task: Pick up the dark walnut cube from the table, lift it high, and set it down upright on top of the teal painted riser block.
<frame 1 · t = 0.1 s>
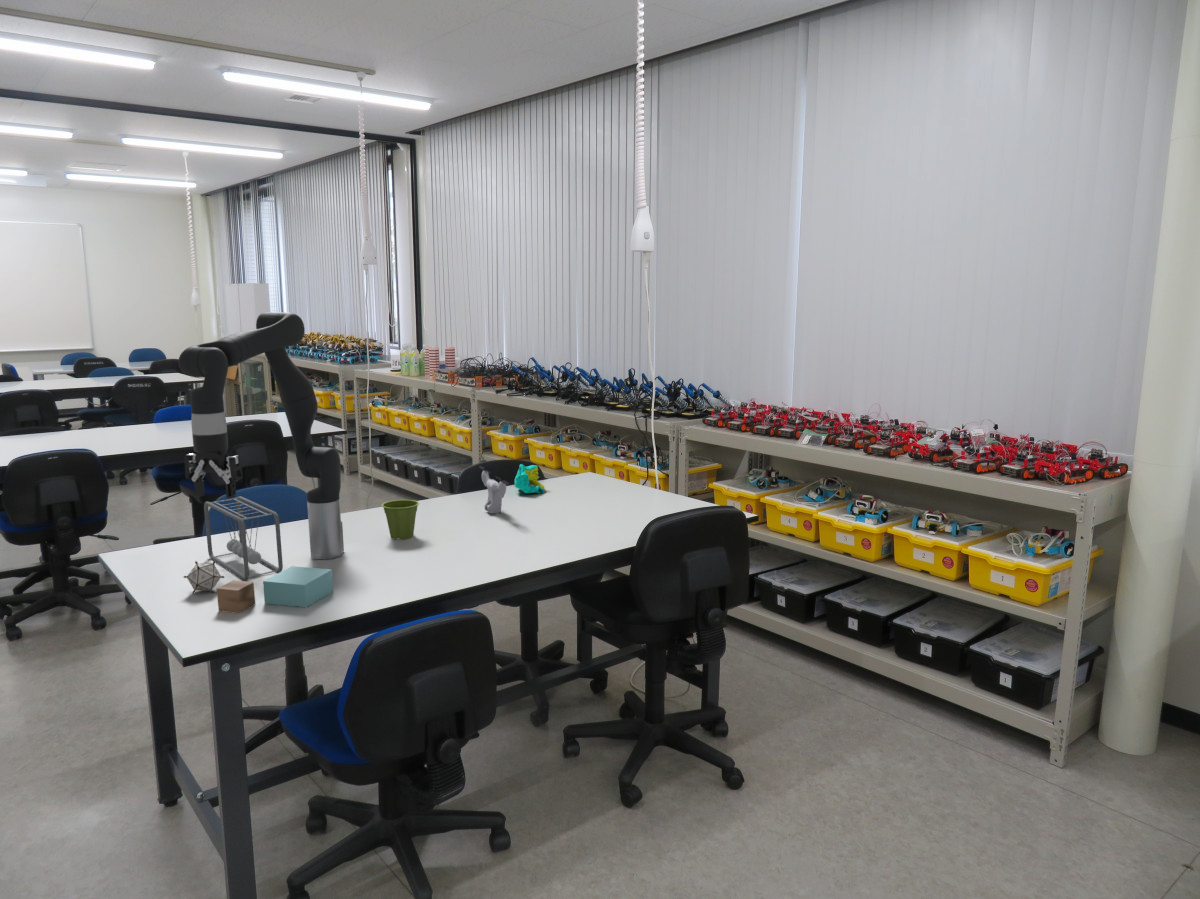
hand: (215, 497, 193), 29 cm above the table, tool pointing down, fingers open, 8 cm apart
figurine: (493, 513, 290), on the table
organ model: (526, 492, 322), on the table
walnut cube: (237, 608, 199), on the table
riser: (299, 597, 206), on the table
plant pot: (402, 537, 260), on the table
game die: (205, 592, 211), on the table
newton's cradle: (245, 566, 232), on the table
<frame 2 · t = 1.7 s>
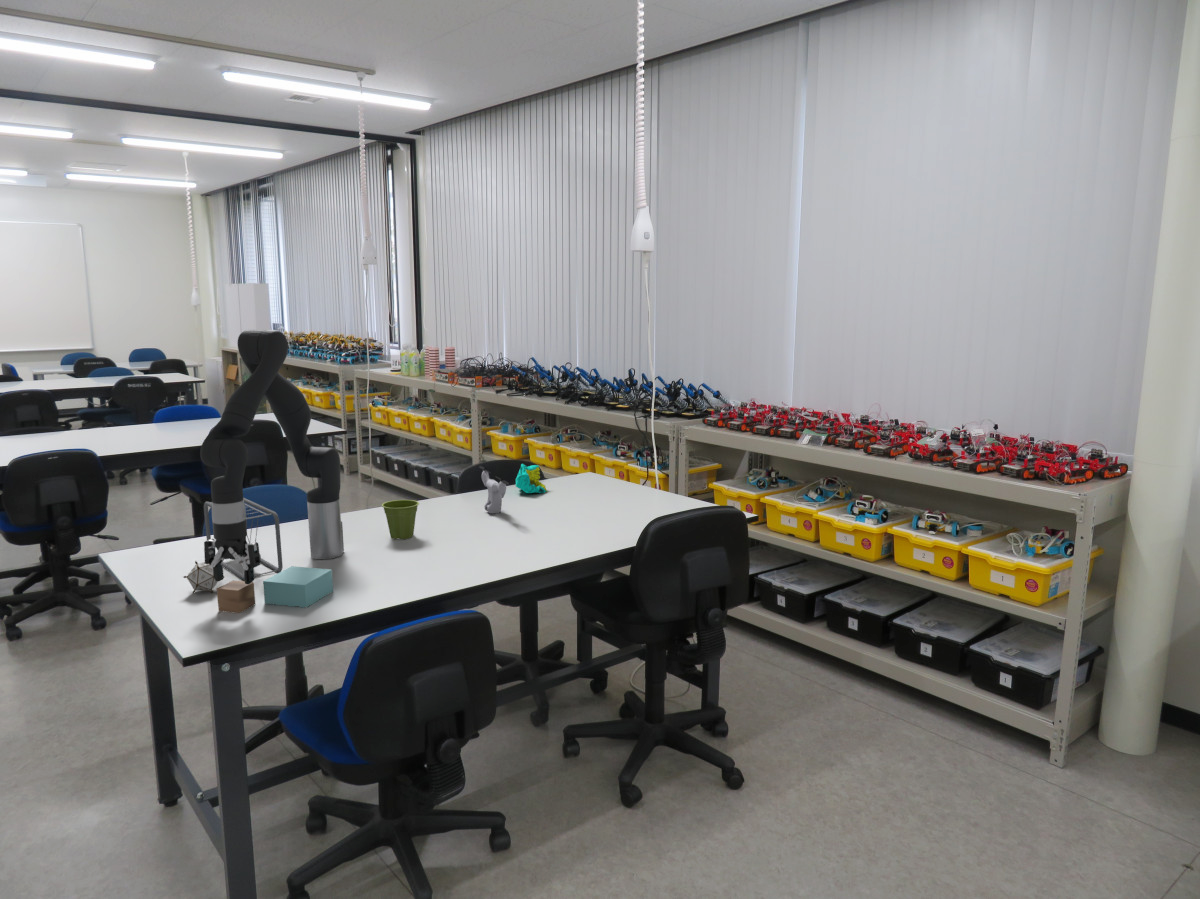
hand: (234, 581, 198), 7 cm above the table, tool pointing down, fingers open, 8 cm apart
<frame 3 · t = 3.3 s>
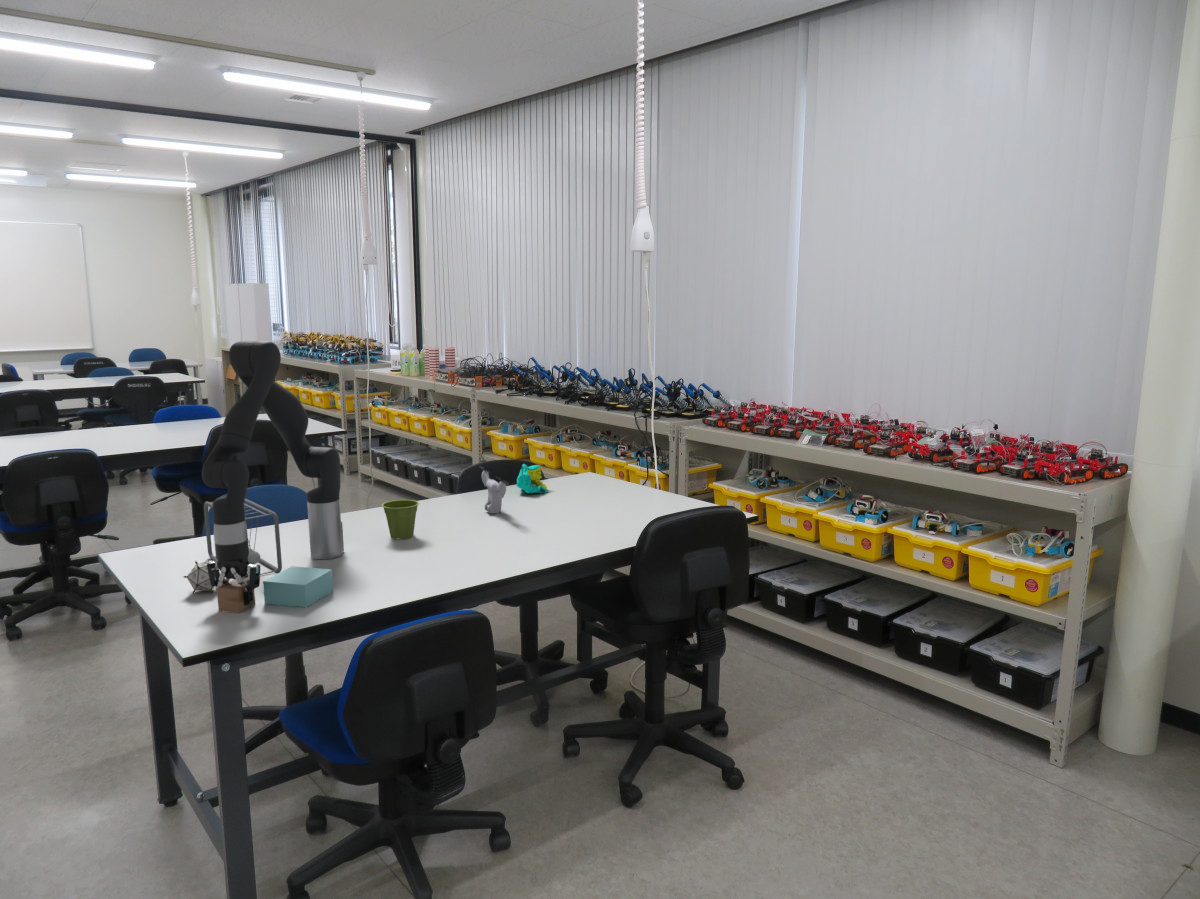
hand: (236, 603, 199), 1 cm above the table, tool pointing down, fingers closed on walnut cube, 6 cm apart
walnut cube: (237, 607, 199), on the table, touching gripper
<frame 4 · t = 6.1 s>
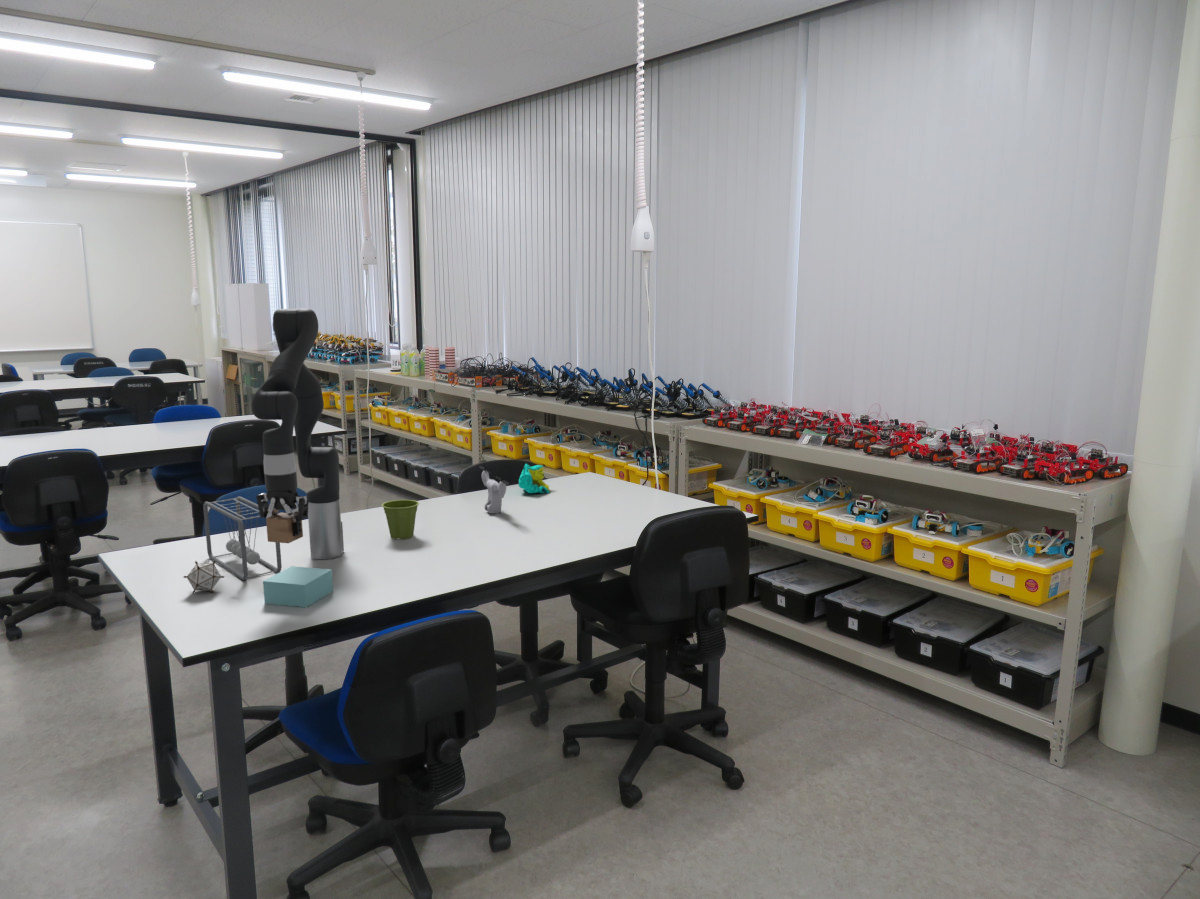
hand: (285, 534, 203), 17 cm above the table, tool pointing down, fingers closed on walnut cube, 6 cm apart
walnut cube: (285, 538, 203), point 16 cm above the table, touching gripper
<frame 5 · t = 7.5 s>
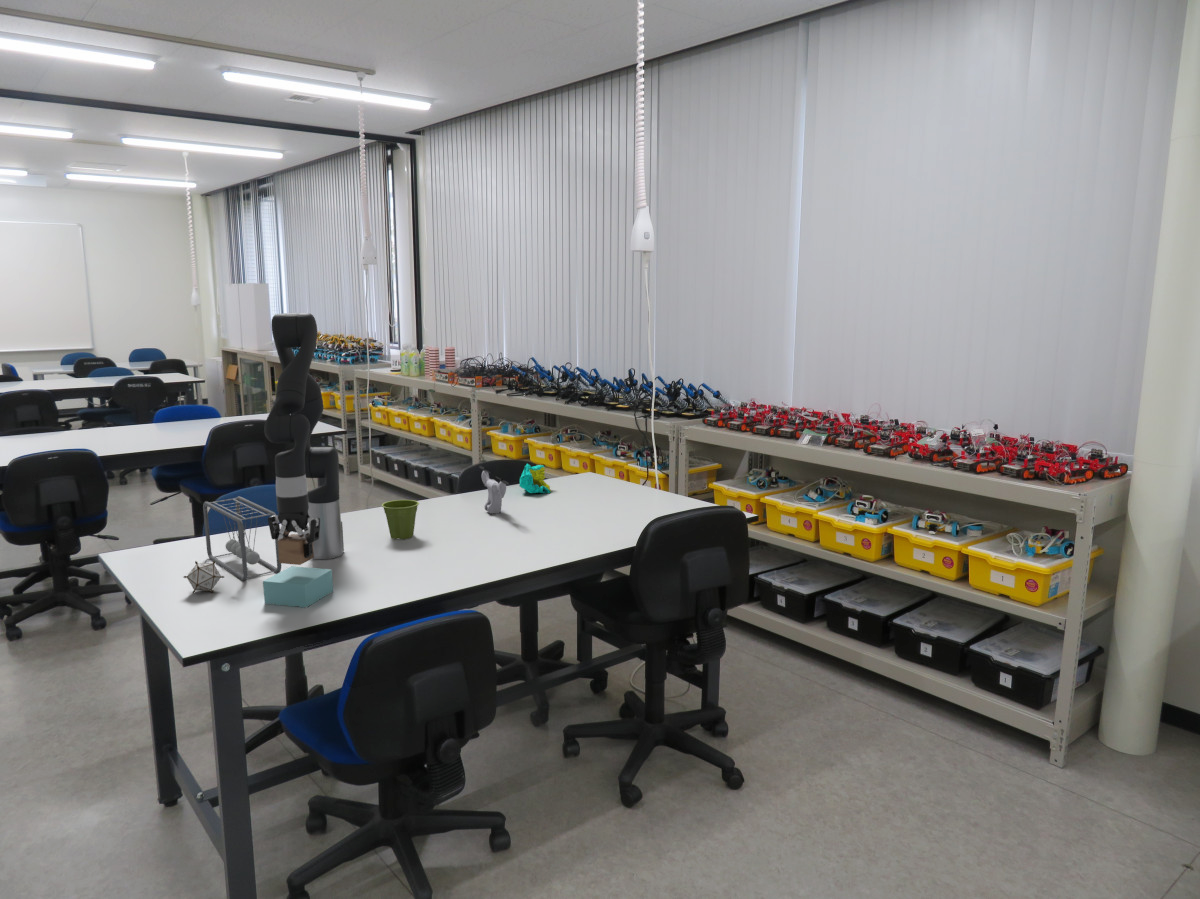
hand: (296, 556, 204), 11 cm above the table, tool pointing down, fingers closed on walnut cube, 6 cm apart
walnut cube: (296, 560, 204), point 10 cm above the table, touching gripper
when the fingers open (9 cm above the table, at t = 8.9 s): walnut cube drops 1 cm, resting on riser.
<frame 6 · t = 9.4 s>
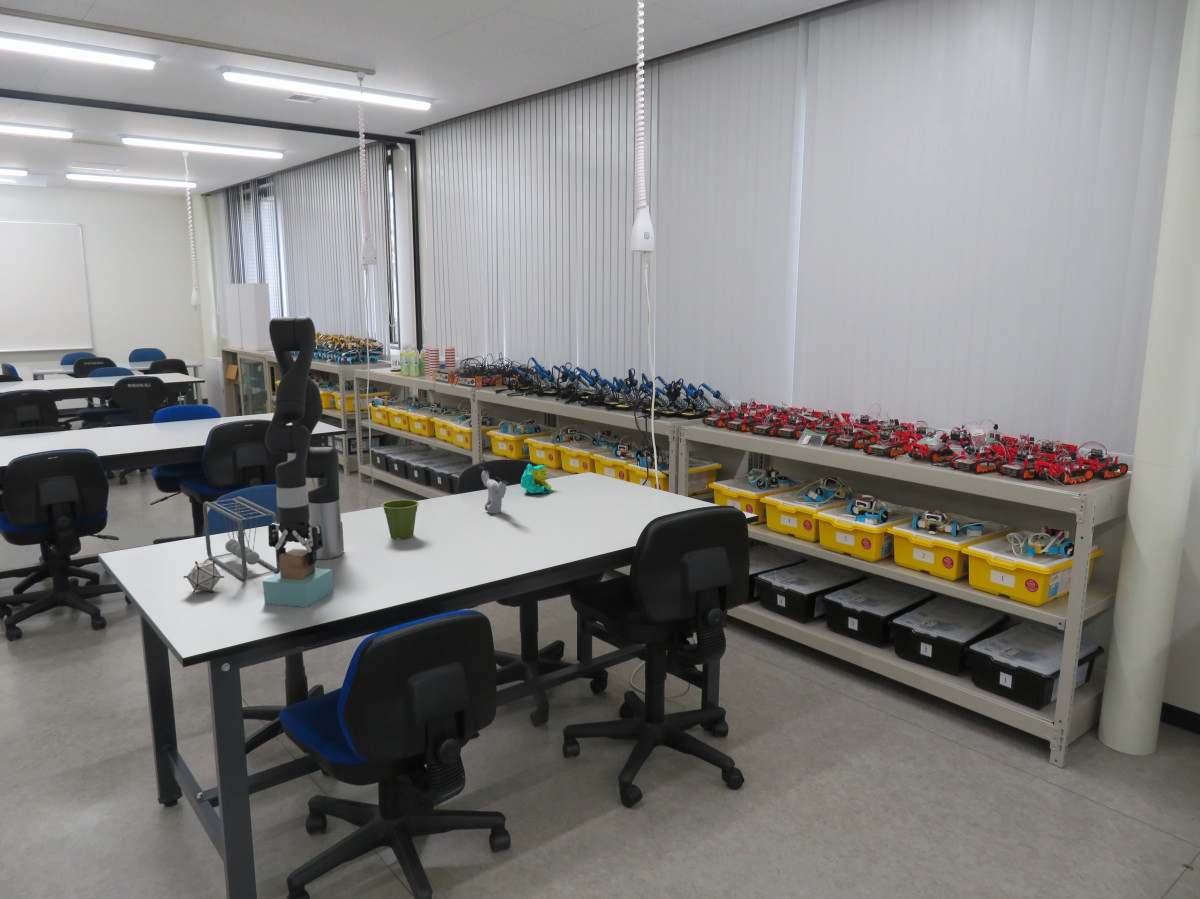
hand: (297, 563, 205), 9 cm above the table, tool pointing down, fingers open, 8 cm apart
walnut cube: (298, 575, 205), point 6 cm above the table, touching riser
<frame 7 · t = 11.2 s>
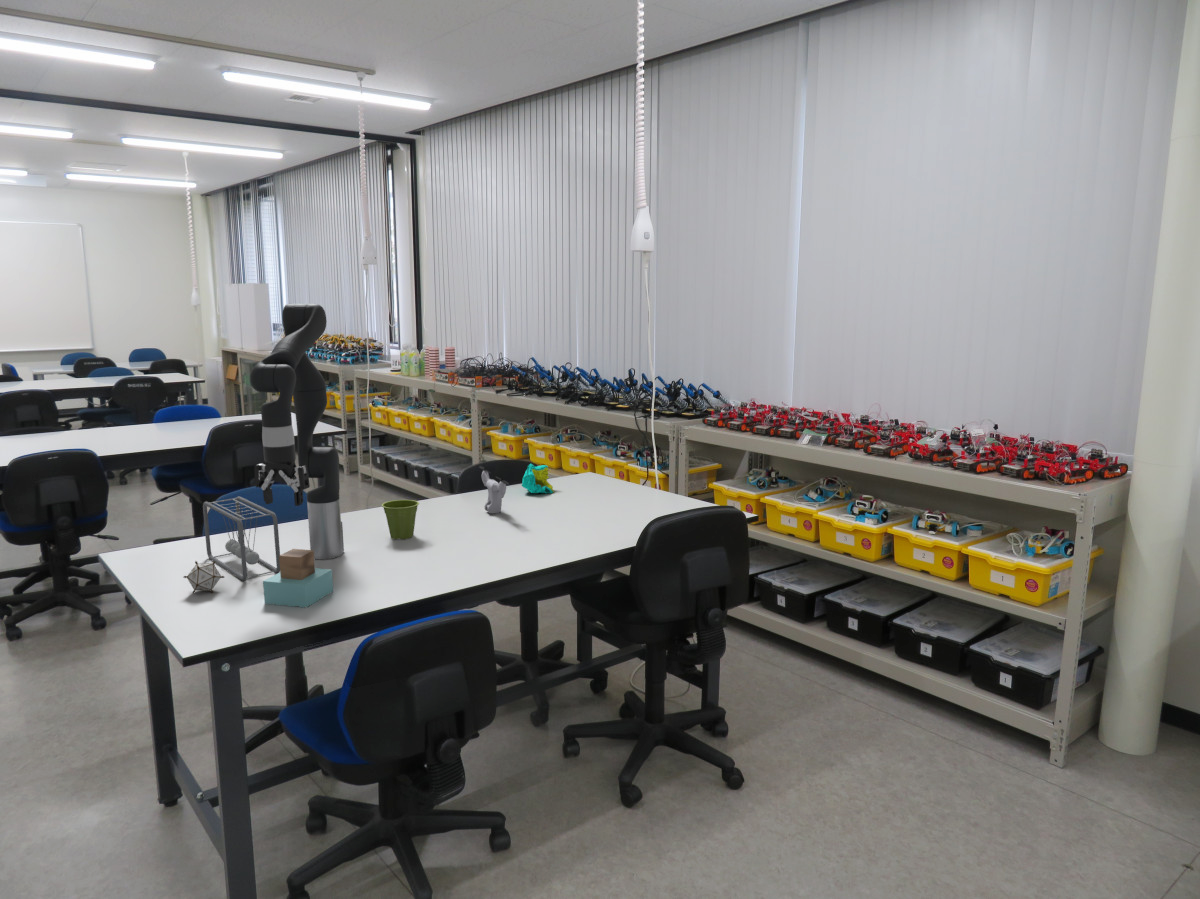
hand: (283, 504, 205), 24 cm above the table, tool pointing down, fingers open, 8 cm apart
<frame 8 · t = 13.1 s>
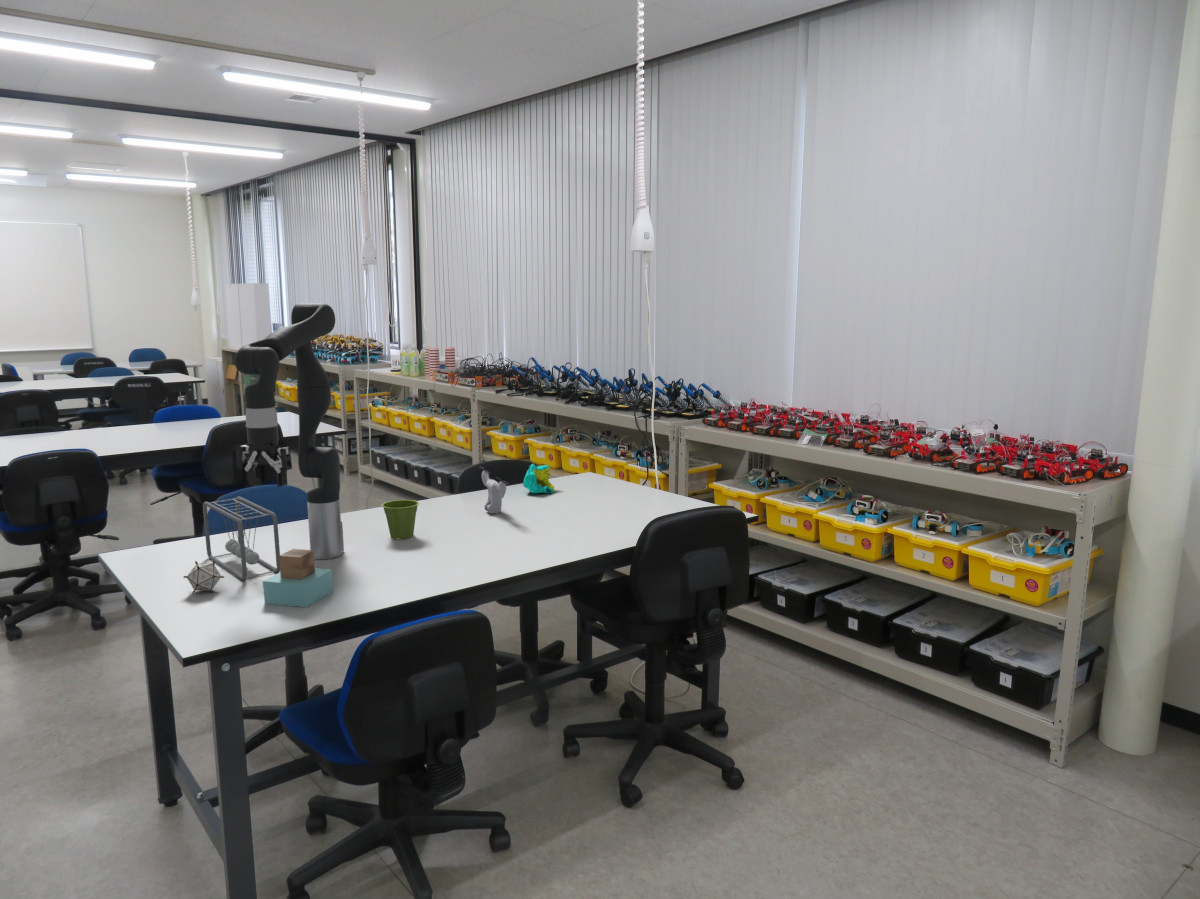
hand: (266, 485, 209), 28 cm above the table, tool pointing down, fingers open, 8 cm apart
at the end: walnut cube inside the target area on the riser (0.0 cm from its centre), point 6.0 cm above the riser's base; walnut cube tilted 0°; the gripper is holding nothing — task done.
